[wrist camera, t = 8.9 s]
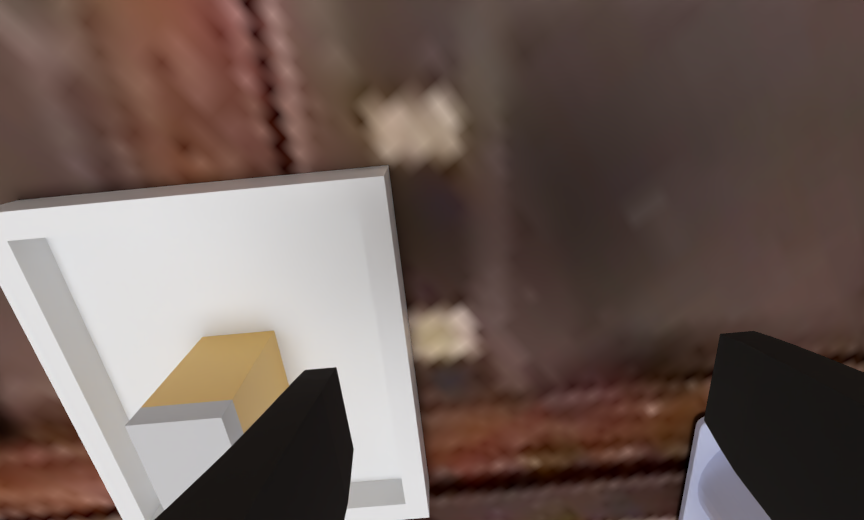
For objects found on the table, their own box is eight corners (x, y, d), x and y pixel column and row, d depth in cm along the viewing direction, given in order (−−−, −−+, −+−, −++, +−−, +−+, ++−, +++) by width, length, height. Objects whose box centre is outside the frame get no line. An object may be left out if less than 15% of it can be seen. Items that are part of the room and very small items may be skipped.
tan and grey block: (274, 330, 18) (221, 417, 13) (297, 416, 19) (257, 519, 15) (202, 336, 18) (124, 425, 13) (231, 421, 20) (171, 526, 15)
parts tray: (388, 165, 16) (383, 176, 14) (428, 480, 22) (429, 517, 20) (16, 200, 16) (-37, 215, 14) (158, 502, 22) (134, 541, 20)
